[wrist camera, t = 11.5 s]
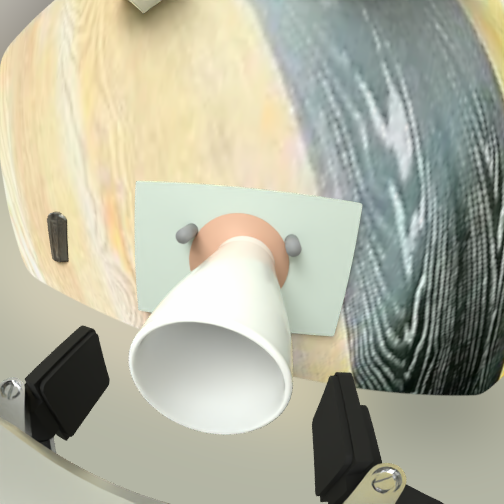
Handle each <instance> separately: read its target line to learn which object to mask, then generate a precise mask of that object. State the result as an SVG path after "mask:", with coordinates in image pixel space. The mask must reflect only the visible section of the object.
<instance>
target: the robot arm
mask: <svg viewBox="0 0 504 504" xmlns="http://www.w3.org/2000/svg"><path fill="white" fill-rule="evenodd" d="M25 381H26V384H25V385H24V383H23V382H22V381H21V380H20V379H18V378H8V379H6V380H4V381H3V382H1V384H0V504H169V503H165V502H162V501H159V500H156V499H153V498H149V497H147V496H144V495H141V494H138V493H136V492H133V491H130V490H128V489H125V488H123V487H120V486H118V485H116V484H113V483H111V482H109V481H106V480H105V479H102V478H100V477H98V476H96V475H94V474H92V473H90V472H88V471H86V470H84V469H82V468H80V467H79V466H77V465H75V464H73V463H71V462H69V461H68V460H66V459H64V458H63V457H61V456H59V455H58V454H56V450H55V443H54V435H55V434H57V435H58V436H59V437H61V438H62V439H64V440H67V439H68V438H69V437H71V436H73V435H74V433H75V432H76V430H77V429H78V428H79V426H80V425H81V424H82V422H83V421H84V419H85V418H86V416H87V415H88V414H89V412H90V411H91V409H92V408H93V406H94V405H95V403H96V402H97V401H98V399H99V398H100V397H101V395H102V394H103V392H104V391H105V390H106V388H107V387H108V385H109V376H108V373H107V369H106V365H105V362H104V358H103V354H102V350H101V346H100V342H99V337H98V335H97V334H96V332H95V330H94V329H92V328H89V327H86V326H81V327H79V328H78V329H77V330H76V331H75V332H74V333H72V334H71V335H70V336H69V337H68V338H67V339H66V340H65V341H64V342H63V343H62V344H60V345H59V346H58V347H57V348H56V349H55V350H54V351H53V352H52V353H51V354H50V355H49V356H48V357H47V358H46V359H44V360H43V361H42V362H41V363H40V364H39V365H38V366H37V367H36V368H35V369H34V370H33V371H32V372H31V373H30V374H29V375H28V376H27V377H26V378H25ZM312 433H313V449H314V467H315V493H316V496H320V501H321V502H328V504H443V503H442V502H440V501H438V500H436V499H434V498H432V497H430V496H428V495H425V494H424V493H421V492H420V491H418V490H416V489H414V488H412V487H410V486H408V485H406V476H405V473H404V471H403V470H402V469H401V468H400V467H398V466H397V465H394V464H391V463H382V460H381V456H380V452H379V448H378V445H377V440H376V436H375V432H374V428H373V425H372V421H371V418H370V414H369V411H368V408H367V407H366V406H365V405H360V402H359V398H358V395H357V391H356V387H355V384H354V380H353V377H352V374H351V373H342V372H336V373H335V375H334V376H330V377H329V380H328V382H327V385H326V388H325V391H324V394H323V396H322V398H321V401H320V403H319V406H318V408H317V411H316V413H315V416H314V418H313V422H312Z"/></svg>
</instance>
